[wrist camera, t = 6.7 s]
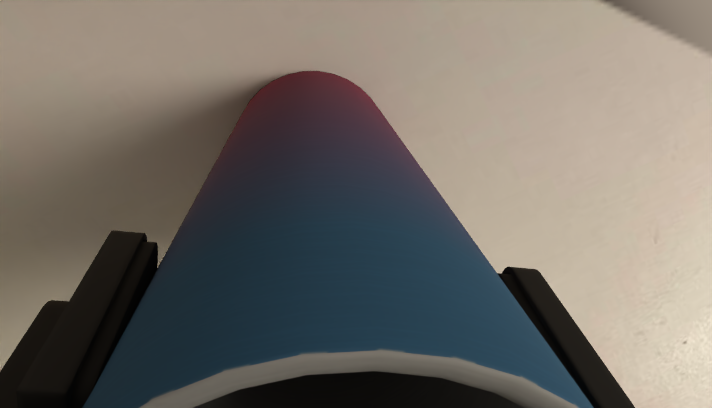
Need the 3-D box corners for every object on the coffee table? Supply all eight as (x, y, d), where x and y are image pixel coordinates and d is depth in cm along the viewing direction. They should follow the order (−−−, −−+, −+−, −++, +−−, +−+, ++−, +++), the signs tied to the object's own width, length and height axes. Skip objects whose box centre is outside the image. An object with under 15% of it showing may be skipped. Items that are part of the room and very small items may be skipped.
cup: (451, 102, 20) (787, 484, 6) (353, 263, 22) (444, 804, 8) (261, 0, 18) (149, 230, 4) (176, 188, 20) (-72, 724, 7)
